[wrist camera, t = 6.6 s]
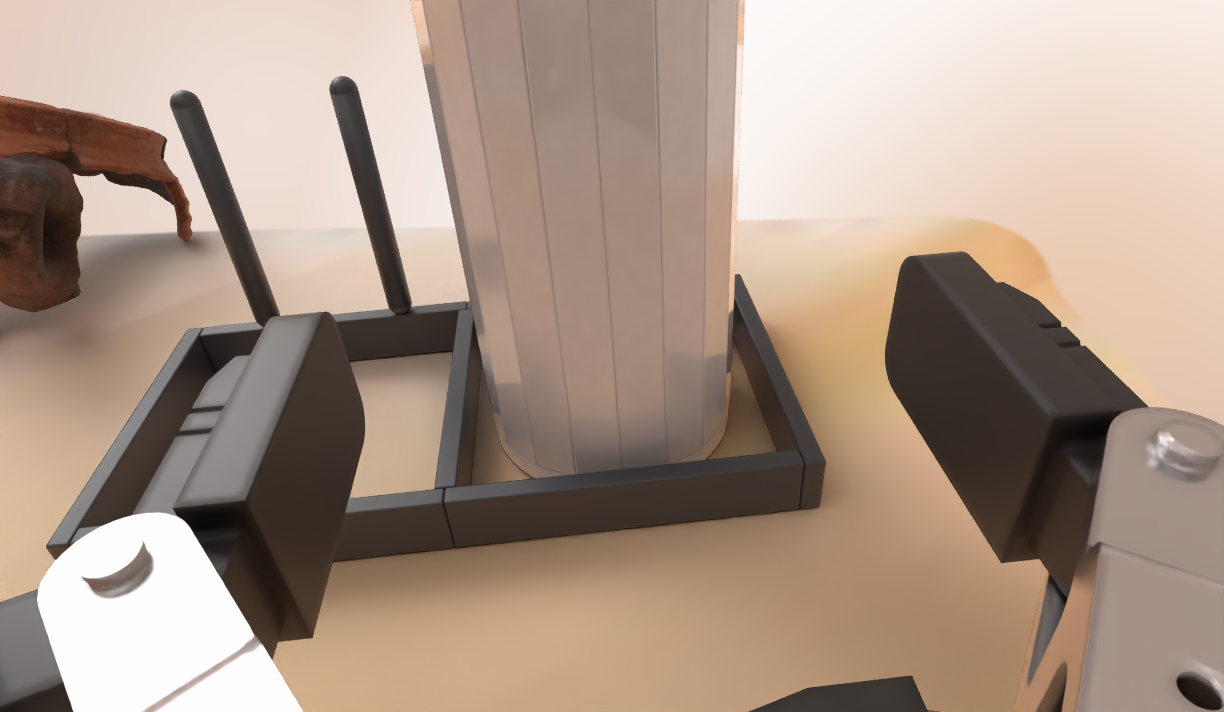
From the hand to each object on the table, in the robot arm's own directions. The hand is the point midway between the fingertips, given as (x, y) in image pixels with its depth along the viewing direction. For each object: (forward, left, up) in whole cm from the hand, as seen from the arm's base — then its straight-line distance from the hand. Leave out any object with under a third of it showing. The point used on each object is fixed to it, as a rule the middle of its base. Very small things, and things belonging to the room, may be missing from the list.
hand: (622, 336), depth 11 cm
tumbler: (0, +7, -8) cm, 10 cm away
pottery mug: (-20, +18, -8) cm, 28 cm away
